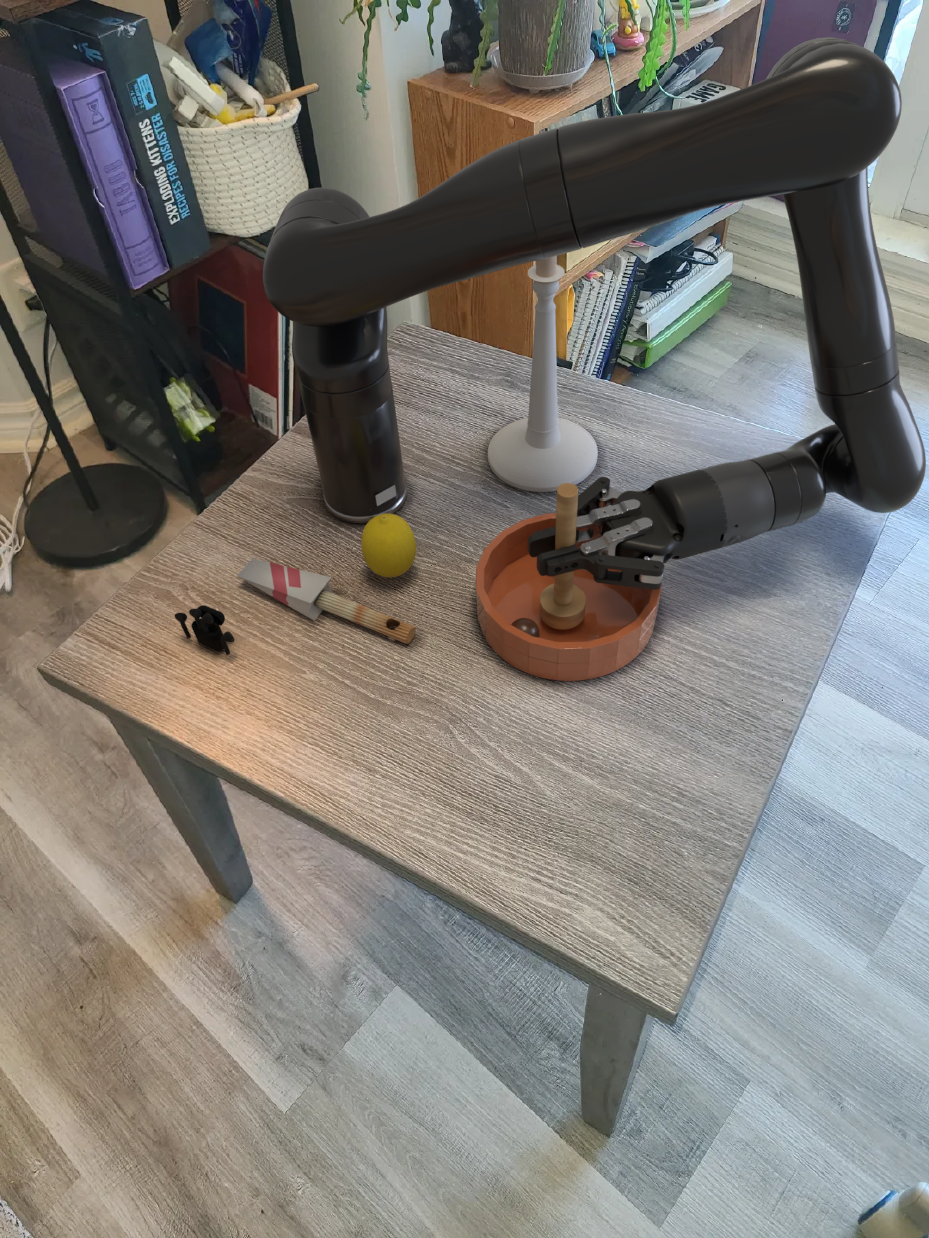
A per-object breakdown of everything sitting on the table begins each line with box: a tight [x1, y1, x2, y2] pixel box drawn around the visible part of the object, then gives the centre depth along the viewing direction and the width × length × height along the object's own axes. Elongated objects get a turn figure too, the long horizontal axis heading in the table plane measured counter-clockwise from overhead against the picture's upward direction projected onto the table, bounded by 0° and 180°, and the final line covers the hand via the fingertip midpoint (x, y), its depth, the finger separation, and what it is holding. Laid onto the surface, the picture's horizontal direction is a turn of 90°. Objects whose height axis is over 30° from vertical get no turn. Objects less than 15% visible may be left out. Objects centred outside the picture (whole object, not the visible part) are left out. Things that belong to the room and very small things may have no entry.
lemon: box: [360, 513, 417, 578], centre depth 91 cm, size 6×6×8 cm
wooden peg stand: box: [540, 483, 586, 630], centre depth 81 cm, size 4×4×16 cm
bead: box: [511, 618, 540, 638], centre depth 85 cm, size 3×3×3 cm
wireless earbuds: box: [174, 605, 235, 656], centre depth 87 cm, size 7×2×5 cm, turn 63°
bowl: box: [475, 512, 663, 682], centre depth 88 cm, size 18×18×5 cm
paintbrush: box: [236, 557, 416, 645], centre depth 90 cm, size 4×3×20 cm
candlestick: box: [487, 256, 599, 493], centre depth 93 cm, size 13×13×30 cm
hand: (534, 556), depth 80 cm, fingers closed on wooden peg stand, 2 cm apart
